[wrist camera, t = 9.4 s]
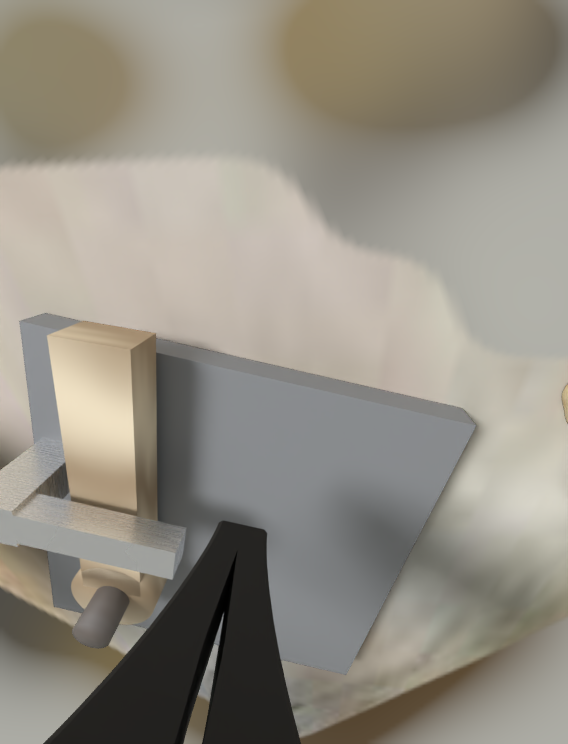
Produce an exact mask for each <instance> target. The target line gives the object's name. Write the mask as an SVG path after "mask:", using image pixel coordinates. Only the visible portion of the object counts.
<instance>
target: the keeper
mask: <svg viewBox="0 0 568 744" xmlns="http://www.w3.org/2000/svg"><path fill="white" fill-rule="evenodd" d="M69 492H70V490H69V483H68V477H67V470H66V463H65V456H64V449H63V442H59V441H55V440H51V439H46V438H42V439H41V440H39V441H38V442H37V443H35V444H34V445H33V446H31V447H30V448H29V449H27V450H26V451H25V452H24V453H22V454H21V455H20V456H18V457H17V458H16V459H14V460H13V461H12V462H10V463H9V464H8V465H6V466H5V467H4V468H3V469H1V470H0V543H3V544H7V545H11V546H16V547H18V546H19V545H20V544H21V545H25V546H29V547H34V548H38V549H42V550H47V551H51V552H55V553H59V554H64V555H68V556H72V557H77V558H81V559H85V560H90V561H94V562H98V563H102V564H107V565H111V566H115V567H120V568H124V569H128V570H132V571H137V572H141V573H145V574H150V575H154V576H158V577H163V578H167V579H171V580H173V577H174V575H175V572H176V570H177V568H178V565H179V563H180V560H181V558H182V556H183V552H184V544H185V536H186V528H185V527H180V526H176V525H172V524H168V523H163V522H159V521H155V520H150V519H146V518H142V517H137V516H133V515H129V514H124V513H120V512H116V511H111V510H107V509H103V508H99V507H94V506H90V505H86V504H81V503H77V502H73V501H68V500H64V499H63V498H64V497H65V496H66V495H67V494H68V493H69Z"/></svg>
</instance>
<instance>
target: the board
mask: <svg viewBox="0 0 568 744" xmlns="http://www.w3.org/2000/svg"><path fill="white" fill-rule="evenodd" d="M19 322H20V330H21V339H22V347H23V355H24V363H25V372H26V380H27V388H28V397H29V405H30V413H31V421H32V430H33V438H34V444H35V443H37V442H38V441H39V440H41V439H42V438H46V439H51V440H55V441H59V442H62V436H61V429H60V422H59V415H58V408H57V401H56V394H55V388H54V381H53V374H52V367H51V360H50V353H49V346H48V340H47V335H49V334H51V333H54V332H57V331H59V330H62V329H64V328H67V327H69V326H72V325H74V324H77V323H79V322H82V321H78V320H74V319H70V318H65V317H61V316H56V315H52V314H48V313H44V314H41V315H37V316H34V317H31V318H28V319H25V320H21V321H19ZM156 398H157V517H158V521H159V522H163V523H168V524H172V525H176V526H180V527H185V528H186V536H185V544H184V552H183V556H182V558H181V560H180V563H179V565H178V568H177V570H176V572H175V575H174V577H173V580H171V579H167V581H166V583H165V586H164V588H163V590H162V592H161V595H160V597H159V599H158V602H157V604H156V606H155V609H154V611H153V613H152V615H151V616H150V617H149V618H148V619H147V620H145V621H143V622H141V623H138V624H132V625H135V626H139V627H143V628H147V629H148V628H149V627H150V625H151V624H152V623H153V622H154V620H155V619H156V618H157V616H158V615H159V614H160V612H161V611H162V610H163V609H164V607H165V606H166V605H167V603H168V602H169V601H170V599H171V598H172V597H173V595H174V594H175V593H176V591H177V590H178V589H179V587H180V586H181V584H182V583H183V581H184V580H185V579H186V577H187V576H188V574H189V573H190V571H191V570H192V568H193V567H194V565H195V564H196V562H197V561H198V559H199V558H200V556H201V555H202V553H203V551H204V550H205V548H206V546H207V545H208V543H209V541H210V539H211V538H212V536H213V534H214V532H215V530H216V528H217V526H218V523H219V522H221V521H223V520H224V521H229V522H233V523H238V524H242V525H247V526H251V527H255V528H260V529H264V530H265V531H266V532H267V569H268V581H269V590H270V598H271V605H272V613H273V620H274V626H275V632H276V637H277V643H278V648H279V653H280V659H281V660H284V661H289V662H293V663H297V664H301V665H306V666H310V667H314V668H319V669H323V670H327V671H331V672H336V673H340V674H344V675H346V674H347V672H348V670H349V668H350V667H351V665H352V663H353V661H354V659H355V657H356V655H357V653H358V651H359V649H360V647H361V645H362V644H363V642H364V640H365V638H366V636H367V634H368V632H369V630H370V628H371V626H372V624H373V622H374V621H375V619H376V617H377V615H378V613H379V611H380V609H381V607H382V605H383V603H384V601H385V600H386V598H387V596H388V594H389V592H390V590H391V588H392V586H393V584H394V582H395V580H396V578H397V577H398V575H399V573H400V571H401V569H402V567H403V565H404V563H405V561H406V559H407V557H408V555H409V554H410V552H411V550H412V548H413V546H414V544H415V542H416V540H417V538H418V536H419V534H420V532H421V531H422V529H423V527H424V525H425V523H426V521H427V519H428V517H429V515H430V513H431V511H432V509H433V508H434V506H435V504H436V502H437V500H438V498H439V496H440V494H441V492H442V490H443V488H444V486H445V485H446V483H447V481H448V479H449V477H450V475H451V473H452V471H453V469H454V467H455V465H456V463H457V462H458V460H459V458H460V456H461V454H462V452H463V450H464V448H465V446H466V444H467V442H468V441H469V439H470V437H471V435H472V433H473V431H474V429H475V427H476V425H475V424H474V422H473V421H472V420H471V419H470V417H469V416H468V415H467V413H466V412H465V411H464V410H463V408H459V407H454V406H450V405H445V404H441V403H437V402H432V401H428V400H424V399H419V398H415V397H411V396H406V395H402V394H397V393H393V392H389V391H384V390H380V389H376V388H371V387H367V386H362V385H358V384H354V383H349V382H345V381H341V380H336V379H332V378H327V377H323V376H319V375H314V374H310V373H306V372H301V371H297V370H292V369H288V368H284V367H279V366H275V365H271V364H266V363H262V362H258V361H253V360H249V359H244V358H240V357H236V356H231V355H227V354H223V353H218V352H214V351H209V350H205V349H201V348H196V347H192V346H188V345H183V344H179V343H174V342H170V341H166V340H161V339H157V338H156ZM63 499H64V500H68V501H71V497H70V492H69V493H68V494H67V495H66V496H65V497H64V498H63ZM47 554H48V562H49V570H50V579H51V587H52V595H53V604H54V607H58V608H62V609H66V610H70V611H75V612H79V613H83V611H84V610H85V609H83V608H82V607H81V606H80V605H79V604H78V602H77V601H76V600H75V598H74V596H73V594H72V590H71V583H72V580H73V578H74V577H75V575H76V574H77V573H78V571H79V570H80V568H81V566H80V559H79V558H77V557H72V556H68V555H64V554H59V553H55V552H51V551H47ZM223 616H224V614H223ZM222 622H223V617H222V620H221V623H220V626H219V629H218V632H217V636H216V639H215V642H214V644H216V645H219V641H220V635H221V629H222Z"/></svg>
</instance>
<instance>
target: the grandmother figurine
mask: <svg viewBox="0 0 568 744" xmlns="http://www.w3.org/2000/svg"><path fill="white" fill-rule="evenodd" d="M562 402H563V407H564V412H565V417H566V421H567V423H568V384H567V385H566V386H565V389H564V391H563V393H562Z"/></svg>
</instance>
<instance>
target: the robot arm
mask: <svg viewBox="0 0 568 744" xmlns="http://www.w3.org/2000/svg"><path fill="white" fill-rule="evenodd" d="M223 614H224V616H223ZM222 617H223V622H222V629H221V635H220V641H219V648H218V654H217V660H216V666H215V673H214V679H213V685H212V692H211V698H210V704H209V710H208V716H207V722H206V727H205V732H204V738H203V742H202V744H301V742H300V739H299V735H298V731H297V727H296V723H295V719H294V716H293V712H292V708H291V703H290V699H289V695H288V691H287V687H286V682H285V678H284V673H283V668H282V663H281V659H280V653H279V648H278V643H277V637H276V632H275V626H274V620H273V613H272V605H271V598H270V590H269V581H268V569H267V532H266V531H265V530H264V529H260V528H255V527H251V526H247V525H242V524H238V523H233V522H229V521H224V520H223V521H221V522H219V523H218V526H217V528H216V530H215V532H214V534H213V536H212V538H211V539H210V541H209V543H208V545H207V546H206V548H205V550H204V551H203V553H202V555H201V556H200V558H199V559H198V561H197V562H196V564H195V565H194V567H193V568H192V570H191V571H190V573H189V574H188V576H187V577H186V579H185V580H184V581H183V583H182V584H181V586H180V587H179V589H178V590H177V591H176V593H175V594H174V595H173V597H172V598H171V599H170V601H169V602H168V603H167V605H166V606H165V607H164V609H163V610H162V611H161V612H160V614H159V615H158V616H157V618H156V619H155V620H154V622H153V623H152V624H151V625H150V627H149V628H148V629H147V630H146V632H145V633H144V634H143V635H142V636H141V638H140V639H139V640H138V641H137V642H136V644H135V645H134V646H133V647H132V648H131V650H130V651H129V652H128V653H127V654H126V655H125V657H124V658H123V659H122V660H121V661H120V663H119V664H118V665H117V666H116V667H115V668H114V669H113V670H112V672H111V673H110V674H109V675H108V676H107V677H106V678H105V679H104V680H103V682H102V683H101V684H100V685H99V686H98V687H97V688H96V689H95V690H94V691H93V692H92V693H91V695H90V696H89V697H88V698H87V699H86V700H85V701H84V702H83V703H82V704H81V705H80V707H79V708H78V709H77V710H76V711H75V712H74V713H73V714H72V715H71V716H70V717H69V718H68V719H67V720H66V721H65V722H64V723H63V724H62V725H61V726H60V728H58V729H57V730H56V731H55V733H53V735H51V736H50V738H48V740H46V741H45V743H43V744H183V743H184V738H185V735H186V731H187V728H188V724H189V721H190V717H191V714H192V710H193V707H194V704H195V701H196V698H197V695H198V692H199V689H200V685H201V682H202V679H203V676H204V673H205V670H206V667H207V664H208V661H209V657H210V654H211V651H212V648H213V645H214V642H215V639H216V636H217V632H218V629H219V626H220V623H221V620H222Z"/></svg>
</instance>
